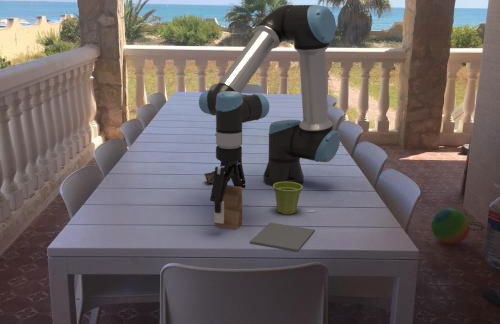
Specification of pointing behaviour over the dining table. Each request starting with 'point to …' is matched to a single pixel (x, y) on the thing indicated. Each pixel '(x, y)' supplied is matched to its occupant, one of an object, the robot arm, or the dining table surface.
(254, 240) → the rubber mat
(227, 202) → the walnut block
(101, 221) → the dining table surface
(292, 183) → the plant pot
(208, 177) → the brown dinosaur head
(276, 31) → the robot arm
